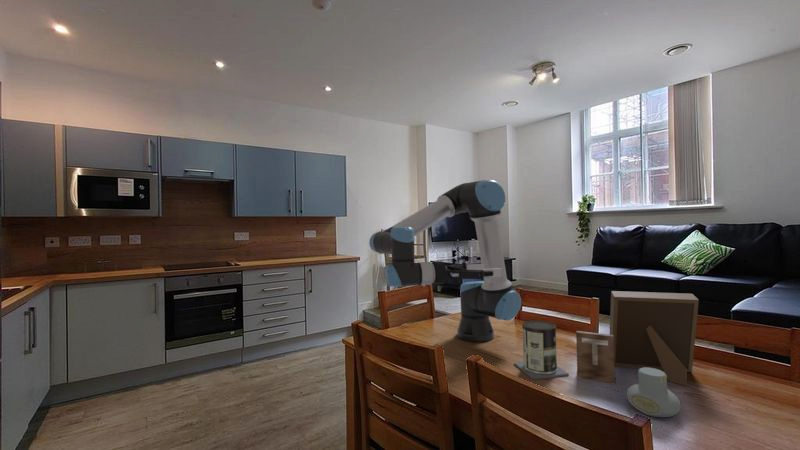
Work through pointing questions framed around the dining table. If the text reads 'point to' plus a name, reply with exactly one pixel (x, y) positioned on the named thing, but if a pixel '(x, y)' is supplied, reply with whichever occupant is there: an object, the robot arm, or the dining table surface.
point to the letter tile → (595, 356)
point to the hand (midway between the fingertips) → (492, 269)
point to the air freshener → (653, 394)
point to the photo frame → (654, 331)
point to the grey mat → (541, 376)
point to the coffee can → (539, 347)
